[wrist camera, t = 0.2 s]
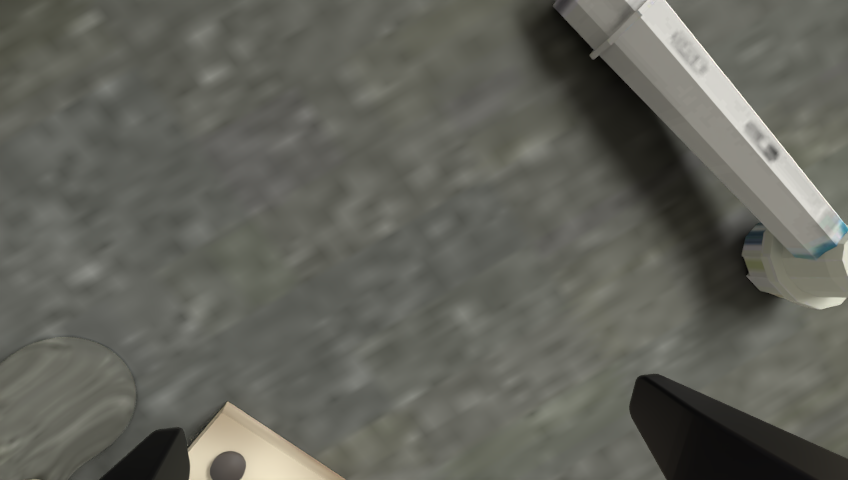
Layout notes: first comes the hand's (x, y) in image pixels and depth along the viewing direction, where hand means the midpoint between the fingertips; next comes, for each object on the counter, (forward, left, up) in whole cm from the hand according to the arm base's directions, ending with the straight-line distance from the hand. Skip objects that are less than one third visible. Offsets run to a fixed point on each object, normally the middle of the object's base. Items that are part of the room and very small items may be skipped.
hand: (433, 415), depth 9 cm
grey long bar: (+19, -10, -16) cm, 27 cm away
